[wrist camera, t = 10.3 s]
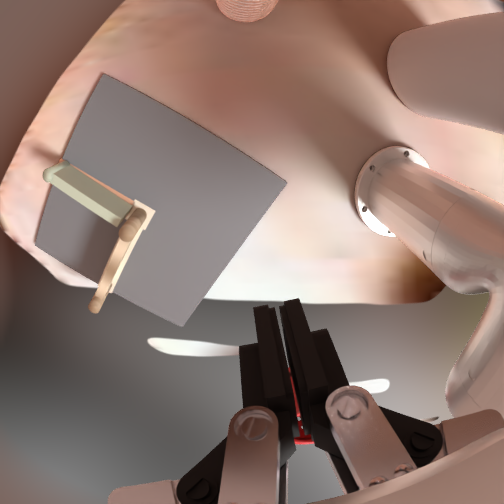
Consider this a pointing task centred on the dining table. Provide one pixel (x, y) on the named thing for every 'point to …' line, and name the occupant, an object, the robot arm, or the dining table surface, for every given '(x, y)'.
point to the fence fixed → (117, 257)
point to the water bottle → (246, 9)
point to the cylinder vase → (452, 70)
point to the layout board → (156, 201)
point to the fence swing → (87, 192)
